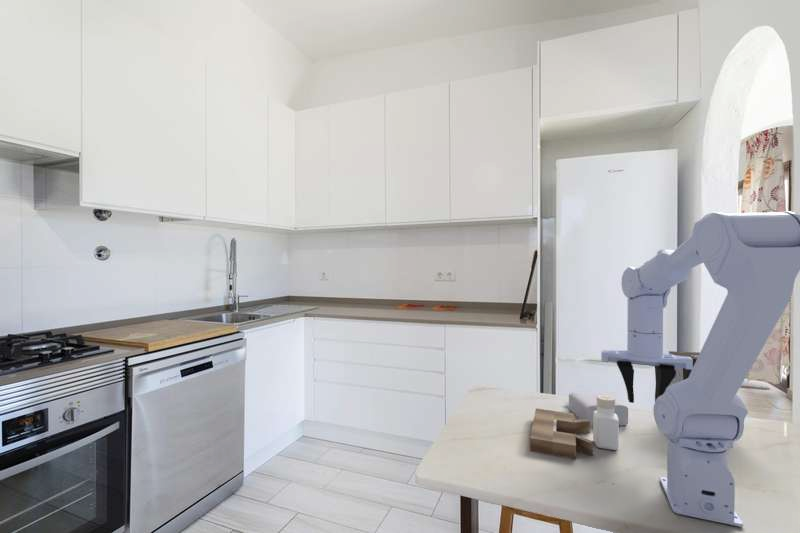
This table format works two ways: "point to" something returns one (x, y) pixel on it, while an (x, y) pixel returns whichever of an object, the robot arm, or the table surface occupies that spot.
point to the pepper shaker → (606, 423)
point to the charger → (593, 406)
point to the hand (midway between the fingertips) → (644, 402)
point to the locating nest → (559, 434)
